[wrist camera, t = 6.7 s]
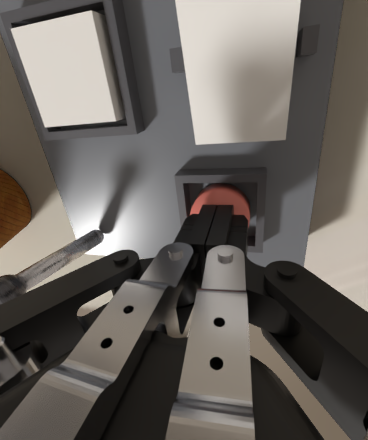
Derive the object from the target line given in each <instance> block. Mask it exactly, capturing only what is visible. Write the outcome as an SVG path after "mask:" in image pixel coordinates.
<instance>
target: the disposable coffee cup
mask: <svg viewBox="0 0 368 440" xmlns="http://www.w3.org/2000/svg"><path fill="white" fill-rule="evenodd" d="M30 219H31V208H30V204H29V201H28V199H27V197H26V195H25V193H24V192H23V190H22V189H21V187H20V186H19V185H18V184H17V182H16V181H15V180H14V179H13V178H11V177H10V176H9V175H8V174H7V173H5V172H4V171H2V170H0V248H1V247H3V246H4V245H5V244H6V243H7V242H8V241H9V240H11V239H12V238H13V237H14V236H15V235H16V234H18V233H19V232H20V231H21V230H22V229H23V228H25V227H26V226H27V225H28V223H29V222H30Z"/></svg>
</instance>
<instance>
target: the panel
mask: <svg viewBox="0 0 368 440" xmlns="http://www.w3.org/2000/svg"><path fill="white" fill-rule="evenodd" d="M343 1H344V0H301V3H300V13H299V22H298V31H297V40H296V49H295V58H294V67H293V77H292V86H291V95H290V104H289V113H288V122H287V131H286V140H277V141H258V142H239V143H220V144H201V145H196V143H195V136H194V129H193V122H192V115H191V108H190V101H189V94H188V87H187V80H186V73H185V66H184V59H183V52H182V45H181V38H180V31H179V24H178V17H177V10H176V3H175V0H0V33H1V36H2V38H3V41H4V44H5V46H6V49H7V52H8V55H9V57H10V60H11V63H12V66H13V68H14V71H15V74H16V76H17V79H18V82H19V85H20V87H21V90H22V93H23V95H24V98H25V101H26V104H27V106H28V109H29V112H30V114H31V117H32V120H33V123H34V125H35V128H36V131H37V134H38V136H39V139H40V142H41V144H42V147H43V150H44V153H45V155H46V158H47V161H48V163H49V166H50V169H51V172H52V174H53V177H54V180H55V182H56V185H57V188H58V191H59V193H60V196H61V199H62V202H63V204H64V207H65V210H66V212H67V215H68V218H69V221H70V223H71V226H72V229H73V231H74V234H75V237H76V239H78V238H80V237H82V236H83V235H85V234H87V233H89V232H90V231H92V230H100V231H102V233H103V234H104V240H103V241H102V243H100V244H99V245H97V246H96V247H94V248H92V249H91V250H89V251H88V252H86V253H85V254H93V255H106V256H107V255H110V254H112V253H114V252H116V251H120V250H133V251H135V252H137V253H138V255H139V258H145V259H147V258H154V257H156V255H157V254H158V252H159V251H160V250H161V248H163V247H164V246H166V245H168V244H171V243H173V242H174V240H175V238H176V236H177V235H178V233H179V231H180V229H181V227H182V225H183V223H184V221H185V219H186V218H187V217H189V216H190V211H191V208H192V206H193V204H194V202H195V200H196V198H197V196H198V195H199V193H200V192H201V191H202V190H203V189H204V188H206V187H208V186H210V185H212V184H217V183H225V184H230V185H233V186H235V187H237V188H239V189H240V190H241V191H242V192H243V193H244V194H245V195H246V196H247V198H248V200H249V203H250V223H249V228H248V249H247V257H248V259H249V260H250V261H252V262H253V263H255V264H257V265H260V266H263V267H266V266H267V265H268V264H270V263H272V262H274V261H291V262H294V263H297V264H299V265H301V266H303V267H304V261H305V254H306V247H307V241H308V234H309V227H310V221H311V214H312V208H313V201H314V194H315V188H316V181H317V174H318V168H319V161H320V154H321V148H322V141H323V134H324V128H325V121H326V114H327V108H328V101H329V94H330V88H331V81H332V75H333V68H334V61H335V55H336V48H337V41H338V35H339V28H340V21H341V15H342V8H343ZM91 10H92V11H95V12H97V13H100V14H103V15H105V16H106V21H107V26H108V31H109V36H110V41H111V46H112V51H113V56H114V61H115V66H116V71H117V76H118V81H119V86H120V91H121V96H122V101H123V106H124V111H125V116H126V118H125V119H122V120H118V121H114V122H102V123H90V124H79V125H67V126H56V127H45V126H44V123H43V120H42V117H41V115H40V112H39V109H38V106H37V103H36V100H35V97H34V95H33V92H32V89H31V86H30V83H29V80H28V78H27V75H26V72H25V69H24V66H23V63H22V60H21V58H20V55H19V52H18V49H17V46H16V43H15V40H14V38H13V35H12V32H11V29H12V28H16V27H20V26H25V25H29V24H34V23H38V22H42V21H47V20H51V19H55V18H60V17H64V16H69V15H73V14H77V13H82V12H86V11H91Z"/></svg>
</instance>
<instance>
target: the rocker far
mask: <svg viewBox="0 0 368 440" xmlns="http://www.w3.org/2000/svg"><path fill="white" fill-rule="evenodd" d="M175 3H176V10H177V17H178V24H179V31H180V38H181V45H182V52H183V59H184V66H185V73H186V80H187V87H188V94H189V101H190V108H191V115H192V122H193V129H194V136H195V143H196V145H201V144H220V143H239V142H258V141H277V140H286V131H287V122H288V113H289V104H290V95H291V86H292V77H293V67H294V58H295V49H296V40H297V31H298V22H299V13H300V3H301V0H175Z"/></svg>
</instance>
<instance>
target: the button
mask: <svg viewBox="0 0 368 440" xmlns="http://www.w3.org/2000/svg"><path fill="white" fill-rule="evenodd" d="M203 204H206V205H234V215H244V216H245V217H246V218H247V220H248V228H249V223H250V203H249V200H248V198H247V196H246V195H245V194H244V193H243V192H242V191H241V190H240V189H239V188H237V187H235V186H233V185H230V184H225V183H217V184H212V185H210V186H208V187H206V188H204V189H203V190H202V191H201V192H200V193H199V195H198V196H197V198H196V200H195V202H194V204H193V206H192V208H191V211H190V215H191V214H199V212H200V209H201V207H202V205H203Z"/></svg>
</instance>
